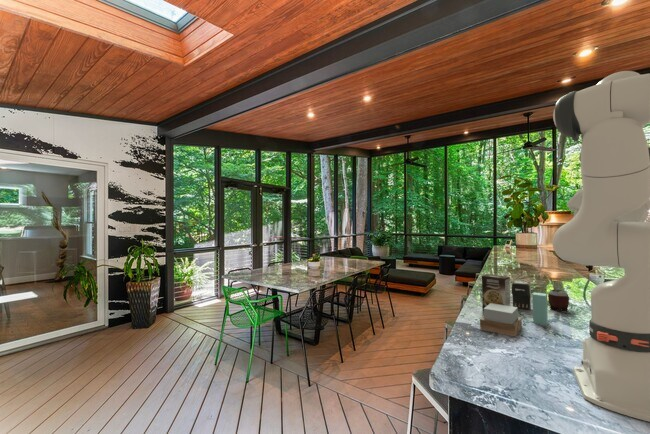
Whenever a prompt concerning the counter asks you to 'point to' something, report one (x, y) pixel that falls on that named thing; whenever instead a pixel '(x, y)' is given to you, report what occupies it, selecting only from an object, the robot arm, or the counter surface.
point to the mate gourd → (558, 298)
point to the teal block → (540, 308)
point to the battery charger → (521, 295)
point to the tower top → (501, 313)
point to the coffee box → (495, 290)
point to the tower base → (501, 326)
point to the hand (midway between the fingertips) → (589, 228)
